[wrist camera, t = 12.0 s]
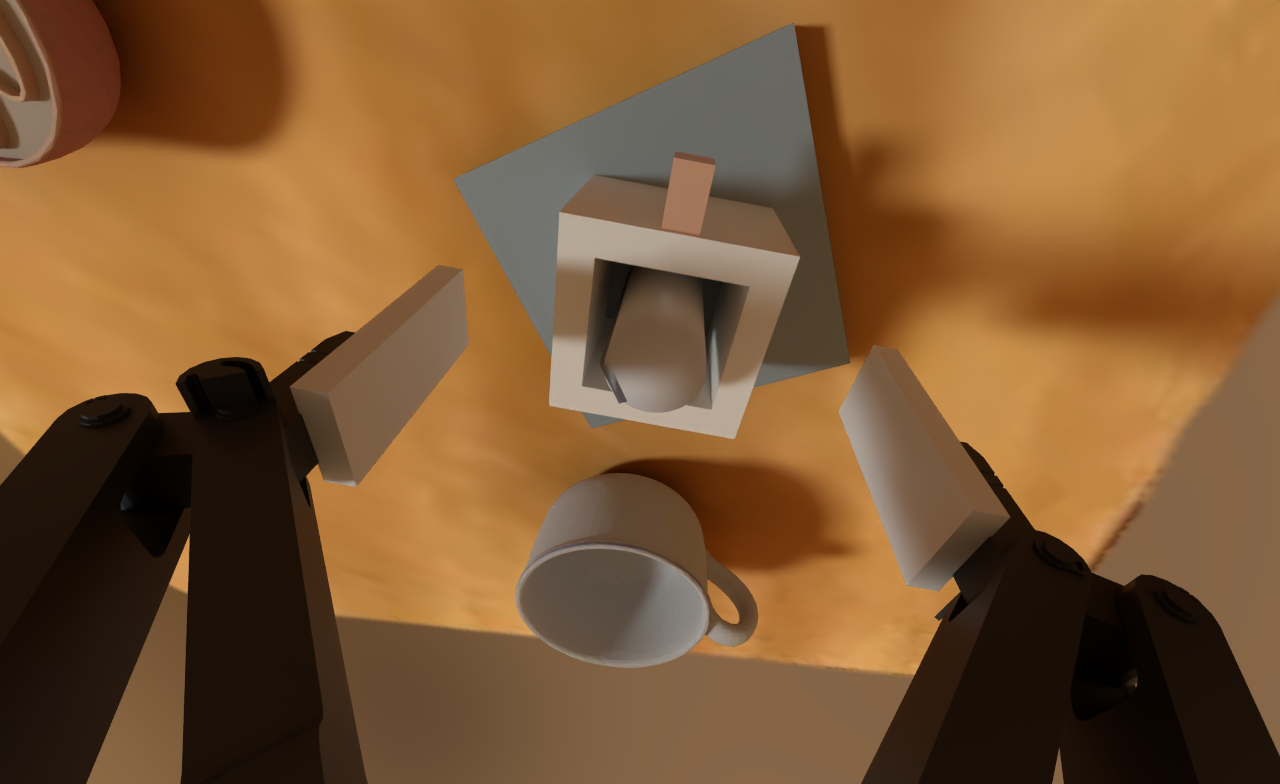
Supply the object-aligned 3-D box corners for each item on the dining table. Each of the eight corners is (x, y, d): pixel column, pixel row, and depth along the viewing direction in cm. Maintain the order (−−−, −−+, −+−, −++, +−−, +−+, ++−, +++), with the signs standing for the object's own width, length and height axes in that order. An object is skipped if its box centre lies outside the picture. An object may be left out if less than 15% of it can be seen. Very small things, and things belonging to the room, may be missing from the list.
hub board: (788, 25, 17) (865, -9, 9) (843, 350, 24) (913, 482, 16) (464, 173, 21) (332, 235, 13) (594, 415, 28) (558, 546, 20)
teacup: (528, 521, 34) (489, 630, 27) (587, 419, 28) (555, 527, 21) (695, 587, 36) (695, 701, 30) (781, 507, 31) (805, 626, 24)
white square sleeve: (725, 361, 23) (734, 439, 18) (579, 334, 23) (549, 405, 18) (789, 154, 18) (825, 187, 13) (599, 118, 18) (563, 138, 13)
